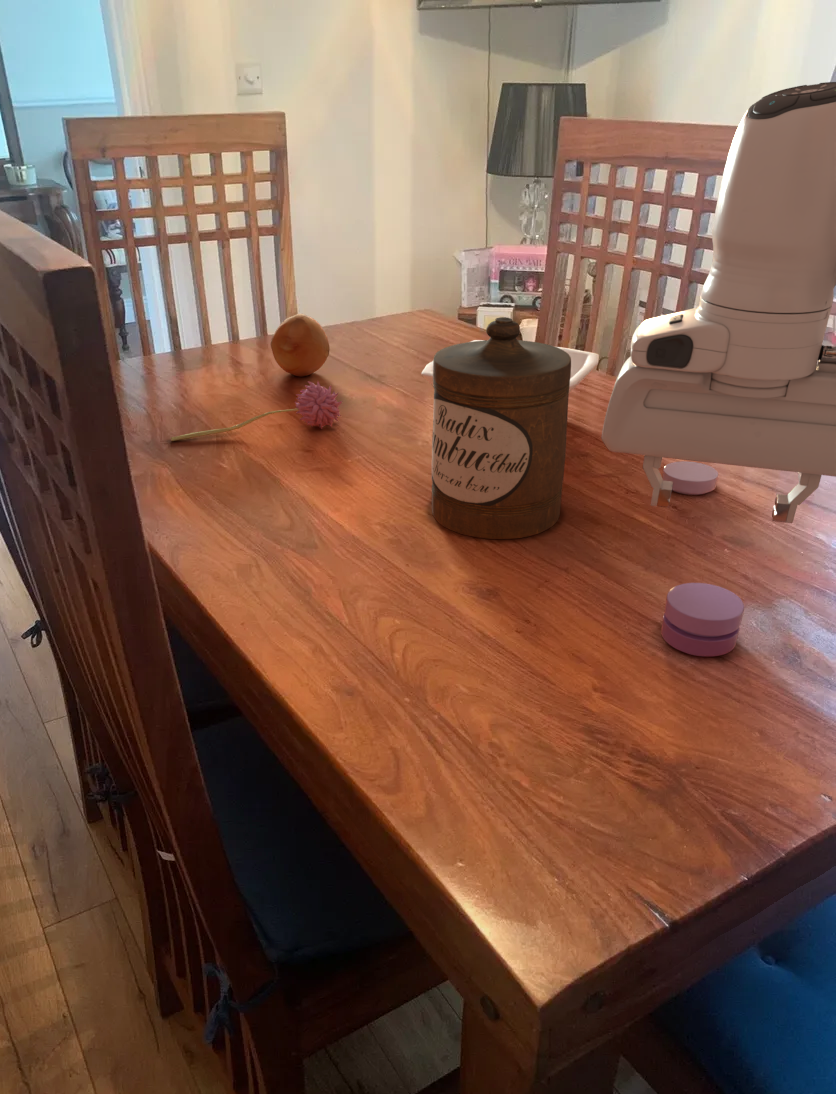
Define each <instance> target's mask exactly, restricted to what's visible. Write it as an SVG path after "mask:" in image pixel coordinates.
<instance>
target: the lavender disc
mask: <svg viewBox="0 0 836 1094" xmlns="http://www.w3.org/2000/svg"><path fill="white" fill-rule="evenodd" d="M663 611H664V613H665V615H666V617H667V619H668V620H669V621H670V622H671V623H672V624H674V625H675V626H676V627H678V628H679V629H681V630H682V631H684V632H687V633H689V634H692V635H696V636H702V637H718V636H722V635H726V634H730V633H732V632H734V631H736V630H737V629H738V628H739V627H741V624H742V620H743V617H744V612H745V603H744V601H743V600H742V598H741V597H740V596H738V595H737V594H736V593H734V592H733V591H731V590H729V589H727V588H725V587H722V586H719V585H716V584H712V583H706V582H705V583H704V582H685V583H681V584H677V585H675V586H673V587H672V588H670V589H669V590H668V592H667V594H666V598H665V603H664V610H663Z"/></svg>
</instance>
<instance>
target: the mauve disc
mask: <svg viewBox="0 0 836 1094" xmlns="http://www.w3.org/2000/svg"><path fill="white" fill-rule="evenodd" d="M740 627H741V626H740ZM740 627H739V628H738V629H737V630H736V631H734V632H732V633H730V634H726V635H722V636H718V637H702V636H696V635H692V634H689V633H687V632H684V631H682V630H681V629H679V628H678V627H676V626H675V625H674V624H672V623H671V622H670V621H669V620H668V619H667V617H666V615H665V612H664V613H663V616H662V621H661V628H660V635H661V637H662V638H663V640H664V641H665V642H666V643H667V644H668V645H669V646H671V647H672V648H674V649H676V650H678V651H680V652H682V653H685V654H688V655H692V656H697V657H719V656H723V655H726V654H728V653H731V652H732V651H733V650H734V649H735V648H736V646H737V643H738V638H739V634H740V629H741V628H740Z"/></svg>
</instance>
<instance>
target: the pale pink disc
mask: <svg viewBox="0 0 836 1094" xmlns="http://www.w3.org/2000/svg"><path fill="white" fill-rule="evenodd" d="M661 476H662V479H663V480H664V481H671V482H673V485H672V492H675V493H678V494H682V495H691V496H697V495H698V496H699V495H705V494H707V493H710V492H713V491H714V490H715V489H716V488H717V484H718V479H719V472H718V470H717V469H716V468H714V467H713V466H710V465H708V464H705V463H703V462H698V461H690V460H681V461H674V462H669V463H667V464H665V466H664V467H663V469H662V474H661Z"/></svg>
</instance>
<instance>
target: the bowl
mask: <svg viewBox="0 0 836 1094" xmlns="http://www.w3.org/2000/svg"><path fill="white" fill-rule="evenodd" d="M484 340H485V339H483V340H482V339H473V340H470V342H473V341H484ZM553 346H554V345H553ZM554 347H557V348H560V349H562V350H564V351H565V352H567V353H568V354H569V355H570V357H571V375H570V386H569V394H570V393H572V392H573V391H574V389H575V388H577V387H578V386H579V384H581V383H582V382H583V381H584V380H585V378H586V377H587V376H588V375H589V374H591V372H592V371H593V370H594V369H595V368H596V367H597V366H598V365H599V360H600V359H599V357H600V355H599V353H596V352H591V351H585V350H581V349H575V348H569V347H562V346H554ZM420 375H421V377H422V378H424V380H425V381H427V383H429V385H431V386H432V387H433V360H432V361H429V363H427V364H426V365H425V367H424V368H423V369H422V371H421V373H420Z"/></svg>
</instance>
